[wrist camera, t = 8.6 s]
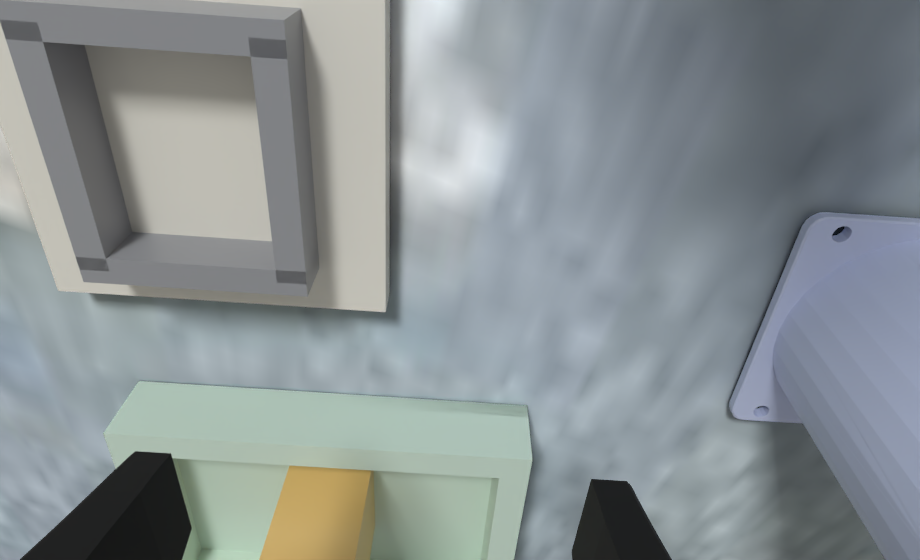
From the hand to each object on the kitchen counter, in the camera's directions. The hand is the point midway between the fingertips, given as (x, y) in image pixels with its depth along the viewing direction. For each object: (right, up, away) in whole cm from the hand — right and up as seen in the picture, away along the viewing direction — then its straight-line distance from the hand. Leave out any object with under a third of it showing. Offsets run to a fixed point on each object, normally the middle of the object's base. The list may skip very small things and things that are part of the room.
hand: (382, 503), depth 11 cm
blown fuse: (-4, -4, +13) cm, 14 cm away
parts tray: (-4, -4, +14) cm, 15 cm away
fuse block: (-6, +8, +6) cm, 12 cm away
